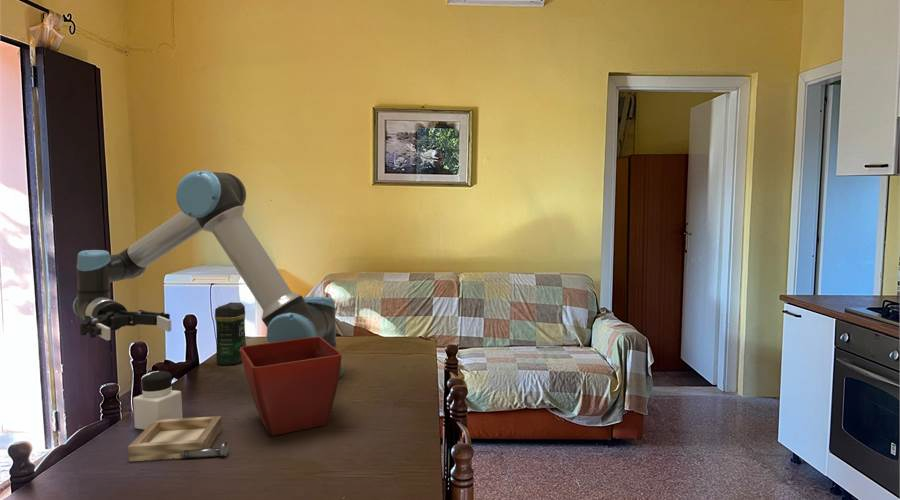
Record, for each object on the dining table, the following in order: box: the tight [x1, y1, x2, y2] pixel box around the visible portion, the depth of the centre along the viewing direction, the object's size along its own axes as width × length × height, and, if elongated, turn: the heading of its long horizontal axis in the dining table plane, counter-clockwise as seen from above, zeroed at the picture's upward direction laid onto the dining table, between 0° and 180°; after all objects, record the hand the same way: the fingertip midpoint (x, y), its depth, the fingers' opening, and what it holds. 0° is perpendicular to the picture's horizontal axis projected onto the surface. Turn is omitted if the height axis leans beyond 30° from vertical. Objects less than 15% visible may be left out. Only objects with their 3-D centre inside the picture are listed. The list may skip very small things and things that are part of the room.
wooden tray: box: [127, 415, 223, 462], centre depth 122 cm, size 14×14×3 cm
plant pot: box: [240, 337, 343, 437], centre depth 133 cm, size 19×19×17 cm
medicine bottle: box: [132, 370, 184, 431], centre depth 132 cm, size 7×7×12 cm
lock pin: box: [180, 441, 229, 459], centre depth 116 cm, size 9×3×3 cm, turn 97°
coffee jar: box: [214, 301, 247, 366], centre depth 183 cm, size 10×8×19 cm
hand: (140, 330), depth 137 cm, fingers open, 13 cm apart
